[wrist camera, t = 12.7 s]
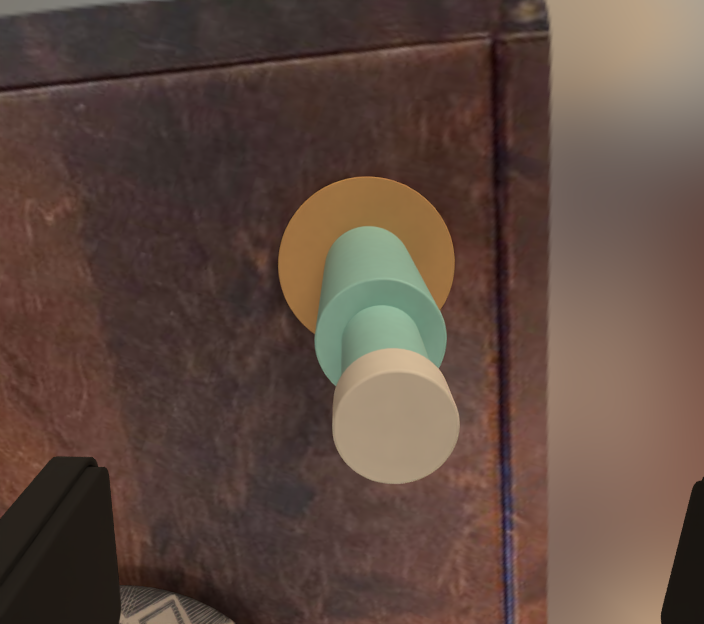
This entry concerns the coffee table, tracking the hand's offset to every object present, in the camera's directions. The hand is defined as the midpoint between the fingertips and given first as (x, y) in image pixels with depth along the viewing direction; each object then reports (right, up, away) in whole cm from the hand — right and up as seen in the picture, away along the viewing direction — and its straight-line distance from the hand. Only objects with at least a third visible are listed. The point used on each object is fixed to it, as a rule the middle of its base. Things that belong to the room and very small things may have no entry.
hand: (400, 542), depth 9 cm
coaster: (0, +6, +21) cm, 22 cm away
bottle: (0, +6, +21) cm, 22 cm away
